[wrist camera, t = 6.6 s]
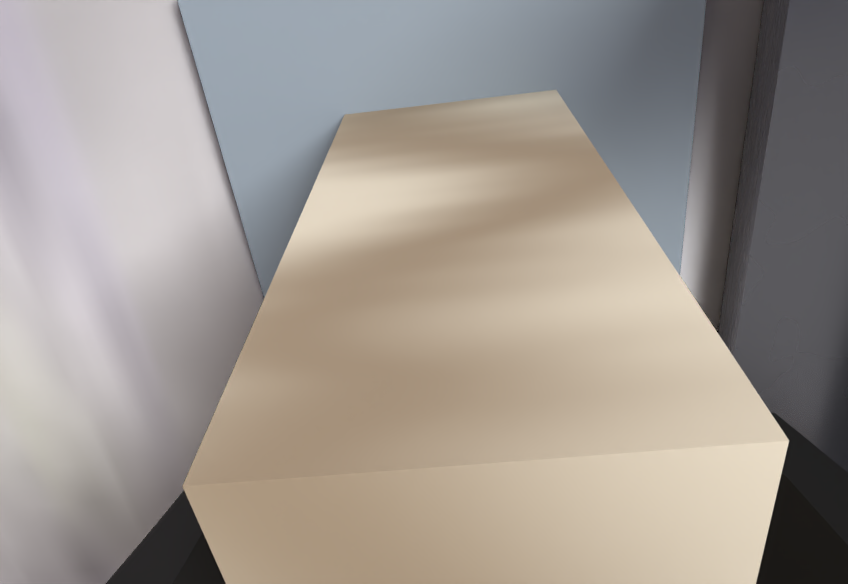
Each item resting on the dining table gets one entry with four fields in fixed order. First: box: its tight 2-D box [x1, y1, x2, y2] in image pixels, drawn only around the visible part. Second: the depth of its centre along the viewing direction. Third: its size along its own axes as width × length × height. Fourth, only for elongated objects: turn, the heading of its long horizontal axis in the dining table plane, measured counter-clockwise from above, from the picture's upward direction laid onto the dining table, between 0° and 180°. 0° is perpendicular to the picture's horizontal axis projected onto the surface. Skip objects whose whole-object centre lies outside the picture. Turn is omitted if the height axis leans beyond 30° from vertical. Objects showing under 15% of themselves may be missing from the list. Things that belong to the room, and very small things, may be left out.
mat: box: [177, 0, 706, 298], centre depth 13 cm, size 8×14×1 cm, turn 7°
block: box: [182, 90, 789, 584], centre depth 10 cm, size 4×10×8 cm, turn 7°
